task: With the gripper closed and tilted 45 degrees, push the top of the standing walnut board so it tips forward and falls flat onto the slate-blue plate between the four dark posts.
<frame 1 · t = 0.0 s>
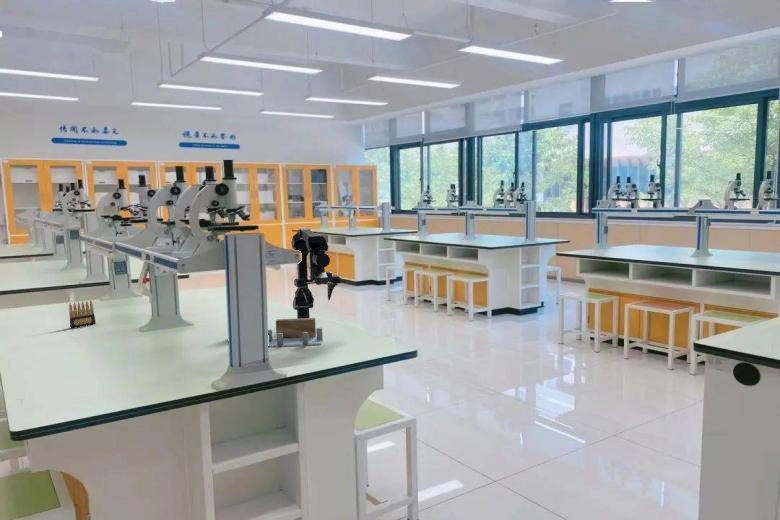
hand: (318, 301, 242), 15 cm above the lab bench, tool pointing down, fingers open, 9 cm apart
peg plate: (294, 342, 234), on the lab bench
shelf board: (296, 338, 241), on the lab bench
ammunition clip: (83, 326, 274), on the lab bench
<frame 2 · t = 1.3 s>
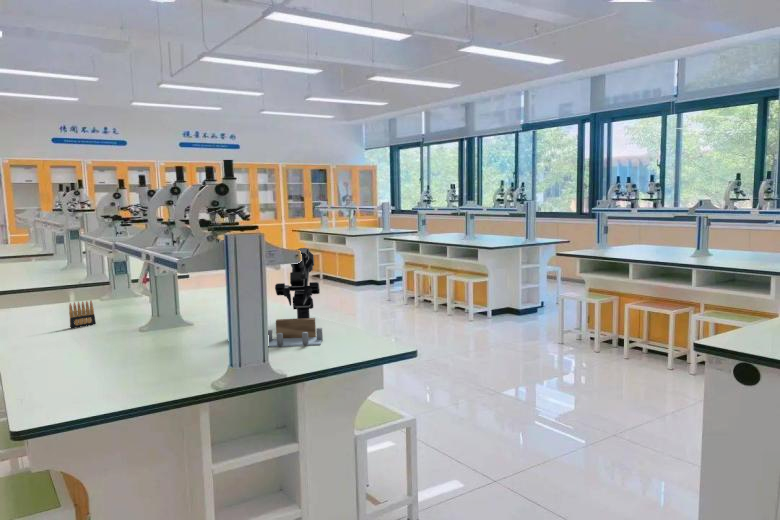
hand: (296, 305, 246), 13 cm above the lab bench, tool tilted 45°, fingers open, 5 cm apart
nothing on the lab bench moved.
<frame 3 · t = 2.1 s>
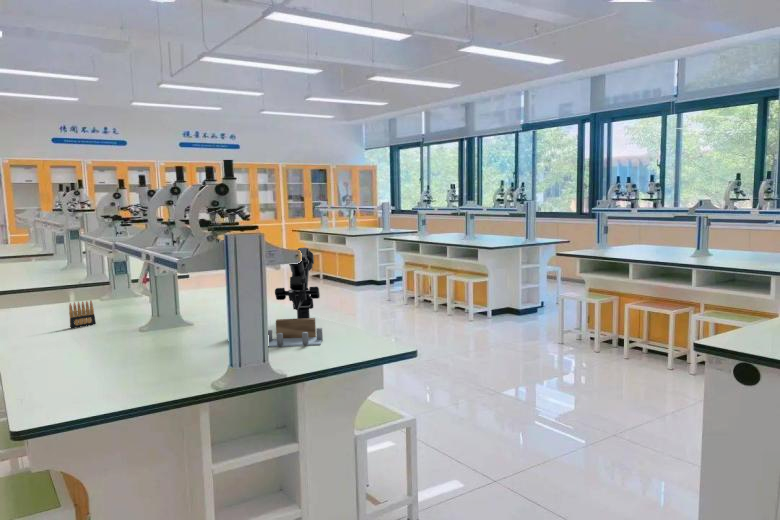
hand: (296, 309, 245), 11 cm above the lab bench, tool tilted 45°, fingers closed
nothing on the lab bench moved.
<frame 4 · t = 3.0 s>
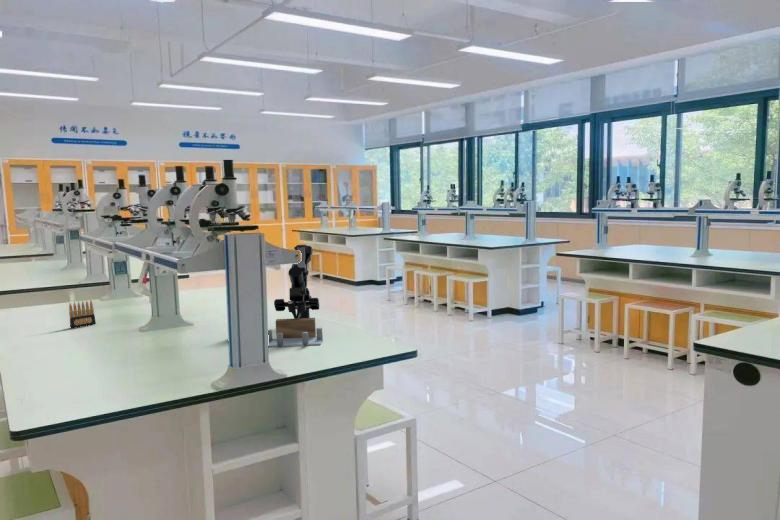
hand: (296, 321, 242), 7 cm above the lab bench, tool tilted 45°, fingers closed, pressing on shelf board
shelf board: (296, 337, 241), on the lab bench, touching gripper
everything else where it was.
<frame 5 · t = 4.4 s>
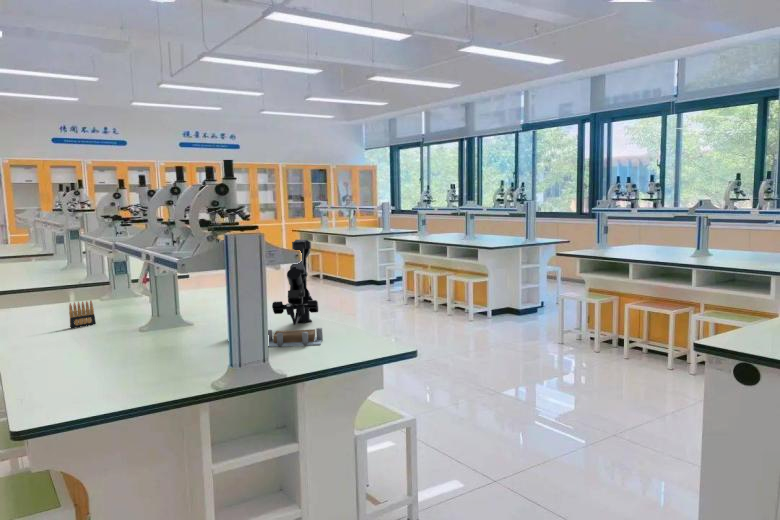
hand: (294, 324, 237), 7 cm above the lab bench, tool tilted 45°, fingers closed
shelf board: (295, 333, 240), point 2 cm above the lab bench, tilted 90°, touching peg plate
everything else where it was.
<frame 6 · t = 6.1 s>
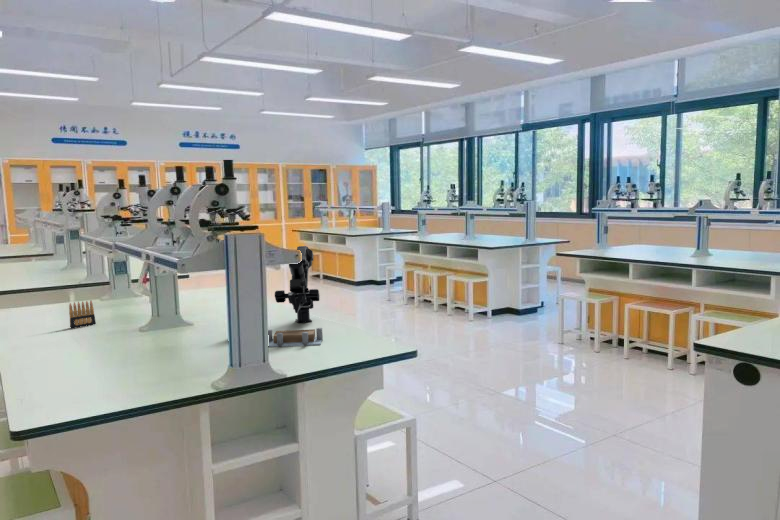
hand: (296, 312, 244), 10 cm above the lab bench, tool tilted 45°, fingers closed
nothing on the lab bench moved.
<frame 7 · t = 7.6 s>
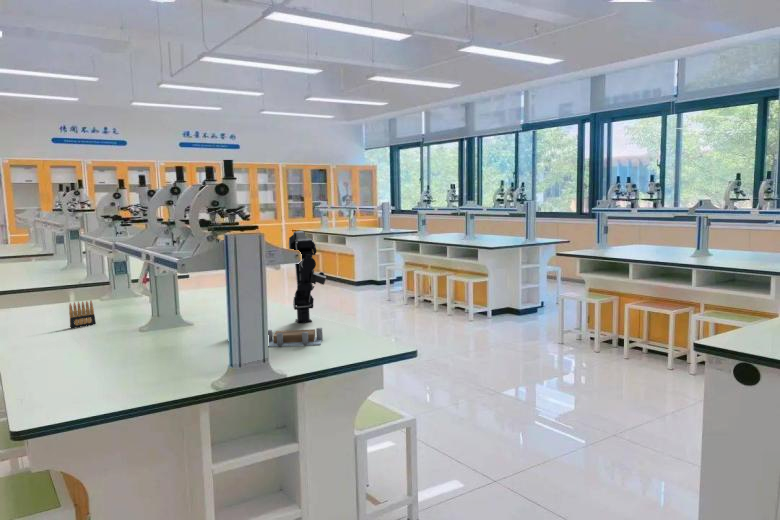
hand: (307, 303, 251), 12 cm above the lab bench, tool pointing down, fingers closed
nothing on the lab bench moved.
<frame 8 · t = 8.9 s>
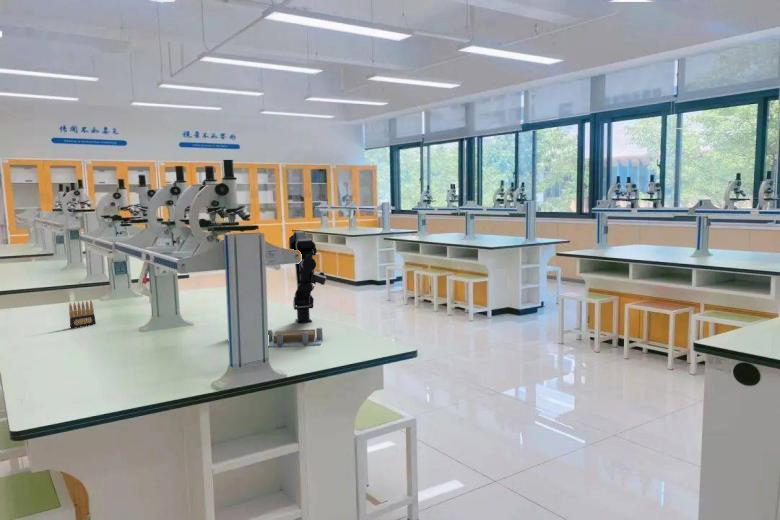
hand: (307, 303, 251), 12 cm above the lab bench, tool pointing down, fingers closed
nothing on the lab bench moved.
at the end: shelf board tilted 90°; shelf board inside the target area (2.6 cm from its centre), point 2.1 cm above the lab bench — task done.
